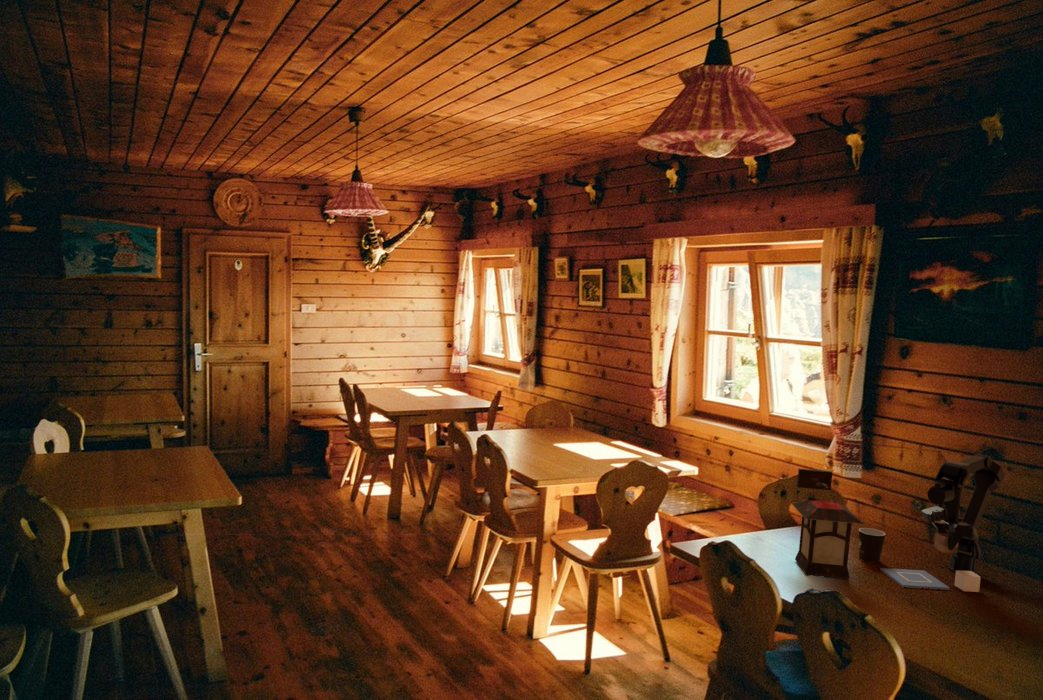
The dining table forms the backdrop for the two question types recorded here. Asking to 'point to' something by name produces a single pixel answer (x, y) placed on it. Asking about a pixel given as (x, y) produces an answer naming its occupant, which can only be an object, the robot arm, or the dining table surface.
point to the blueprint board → (914, 579)
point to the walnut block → (943, 543)
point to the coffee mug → (870, 544)
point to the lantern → (823, 529)
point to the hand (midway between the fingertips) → (945, 547)
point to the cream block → (967, 581)
